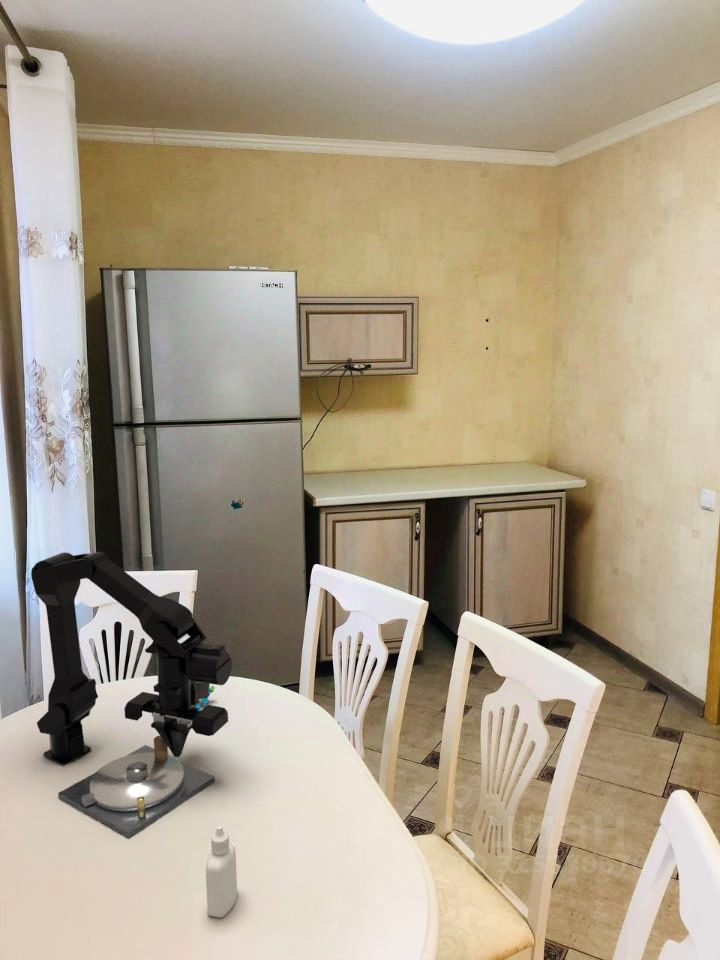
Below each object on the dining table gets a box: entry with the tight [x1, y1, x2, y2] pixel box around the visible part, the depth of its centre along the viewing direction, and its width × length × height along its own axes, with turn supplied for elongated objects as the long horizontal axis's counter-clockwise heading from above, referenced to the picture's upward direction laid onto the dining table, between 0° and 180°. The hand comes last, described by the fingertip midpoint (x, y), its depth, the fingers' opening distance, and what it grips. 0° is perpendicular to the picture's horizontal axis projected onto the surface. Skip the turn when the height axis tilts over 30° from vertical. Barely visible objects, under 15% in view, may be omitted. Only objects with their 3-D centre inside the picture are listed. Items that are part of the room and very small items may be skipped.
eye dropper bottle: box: [205, 825, 238, 918], centre depth 101 cm, size 4×6×12 cm
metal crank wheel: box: [82, 735, 184, 811], centre depth 128 cm, size 16×18×5 cm
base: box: [57, 744, 216, 839], centre depth 129 cm, size 19×19×4 cm
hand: (177, 755), depth 133 cm, fingers closed
